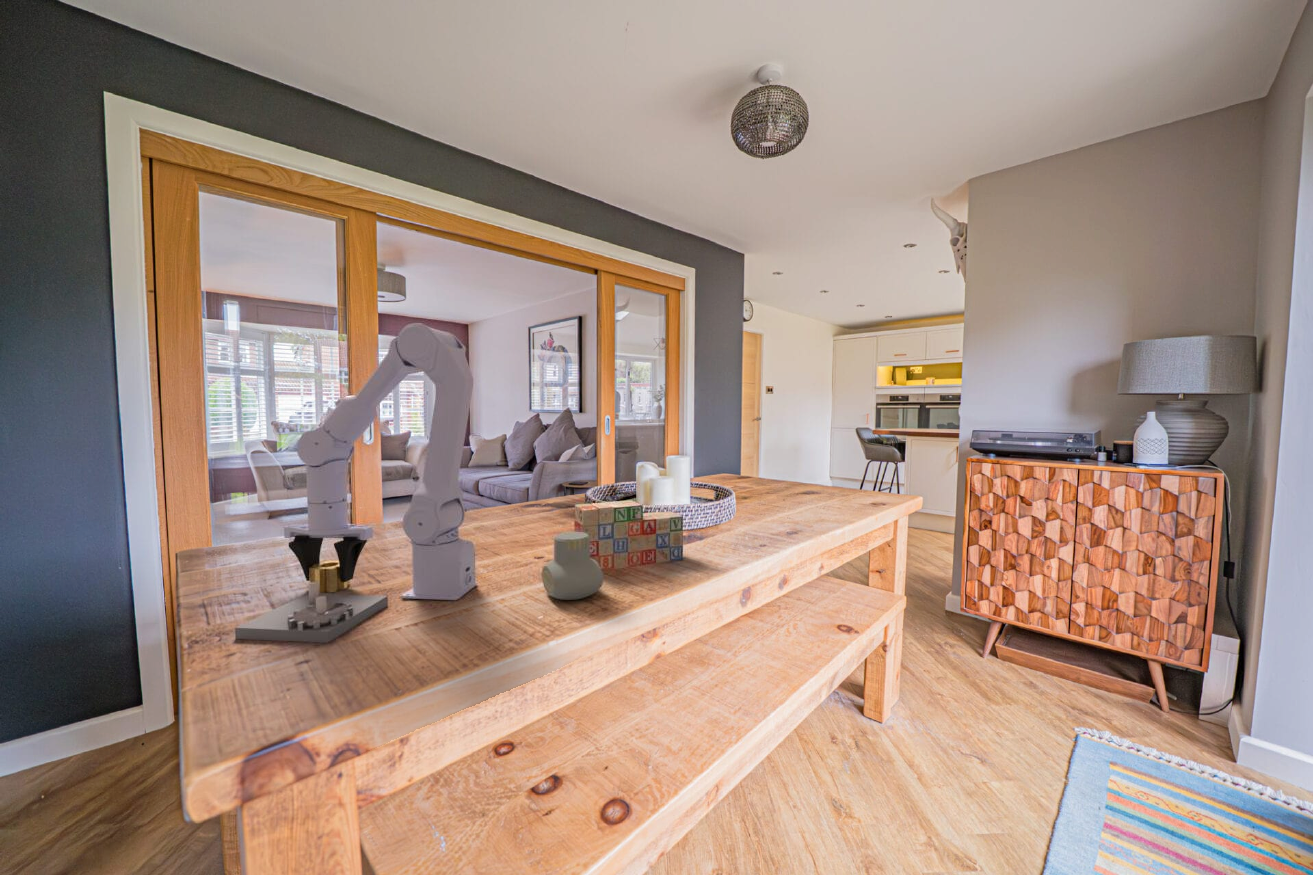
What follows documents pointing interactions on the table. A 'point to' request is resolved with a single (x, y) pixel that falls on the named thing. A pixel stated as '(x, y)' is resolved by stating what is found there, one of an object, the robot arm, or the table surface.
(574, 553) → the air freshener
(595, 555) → the stack of blocks
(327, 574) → the brass gear
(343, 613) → the gear
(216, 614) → the table surface
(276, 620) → the gear board
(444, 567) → the robot arm
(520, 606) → the table surface
